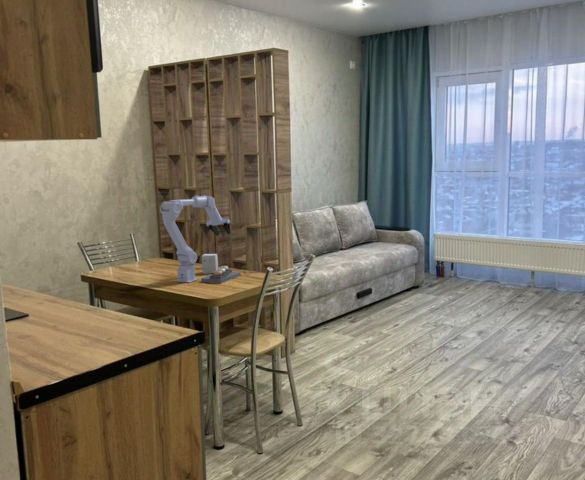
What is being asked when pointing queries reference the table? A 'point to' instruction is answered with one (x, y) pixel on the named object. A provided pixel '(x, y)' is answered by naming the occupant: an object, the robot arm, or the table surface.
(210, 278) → the button panel
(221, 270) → the cream button
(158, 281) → the table surface
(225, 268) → the sage button
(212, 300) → the table surface
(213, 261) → the small box
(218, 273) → the clay button
